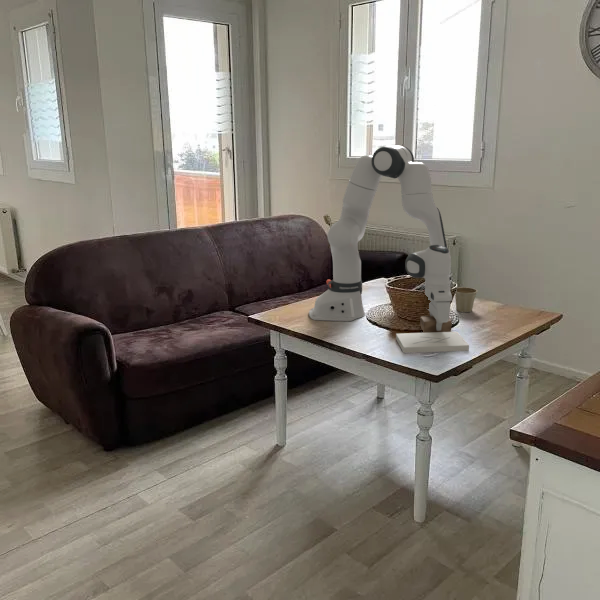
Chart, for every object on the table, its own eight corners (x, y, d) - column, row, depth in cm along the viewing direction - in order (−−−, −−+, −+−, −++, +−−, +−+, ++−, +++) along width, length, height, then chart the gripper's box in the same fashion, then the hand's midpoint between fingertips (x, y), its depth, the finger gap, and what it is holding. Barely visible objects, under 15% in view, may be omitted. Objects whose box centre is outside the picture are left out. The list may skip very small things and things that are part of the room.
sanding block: (423, 334, 223) (424, 321, 222) (420, 329, 229) (420, 316, 228) (450, 333, 223) (451, 320, 222) (446, 328, 229) (447, 315, 228)
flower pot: (474, 307, 254) (475, 287, 251) (478, 314, 245) (479, 293, 242) (451, 307, 255) (452, 286, 252) (454, 313, 246) (455, 293, 243)
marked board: (403, 353, 205) (404, 347, 205) (395, 338, 219) (396, 333, 218) (468, 350, 206) (469, 345, 206) (456, 336, 220) (457, 331, 219)
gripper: (421, 283, 232) (420, 318, 236) (435, 298, 212) (434, 336, 216) (438, 283, 232) (437, 317, 236) (453, 297, 212) (451, 335, 216)
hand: (435, 326), depth 226 cm, fingers open, 6 cm apart
